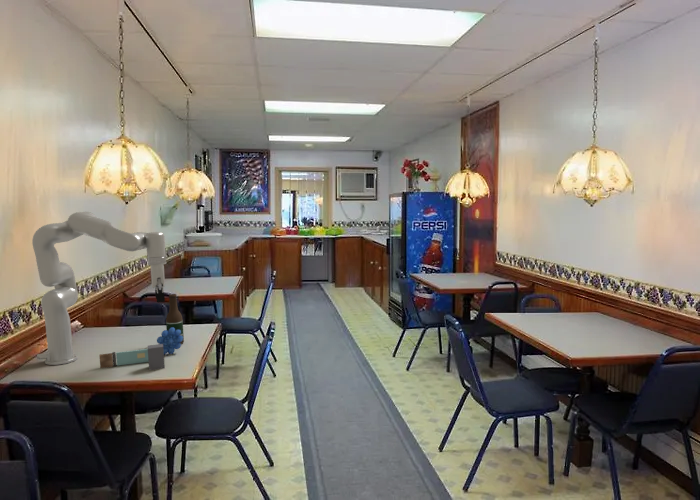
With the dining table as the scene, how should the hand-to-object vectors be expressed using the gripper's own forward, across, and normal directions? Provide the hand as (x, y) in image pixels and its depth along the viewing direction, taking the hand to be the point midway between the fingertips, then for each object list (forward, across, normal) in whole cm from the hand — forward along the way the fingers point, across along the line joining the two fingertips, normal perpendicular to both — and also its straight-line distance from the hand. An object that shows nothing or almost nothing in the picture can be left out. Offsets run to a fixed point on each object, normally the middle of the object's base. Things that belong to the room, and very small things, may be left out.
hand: (160, 300), depth 234 cm
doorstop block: (+26, +13, -4) cm, 29 cm away
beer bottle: (+26, -21, +6) cm, 34 cm away
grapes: (+26, -5, +3) cm, 26 cm away
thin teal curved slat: (+25, +3, -13) cm, 28 cm away
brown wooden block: (+25, +3, -13) cm, 28 cm away
